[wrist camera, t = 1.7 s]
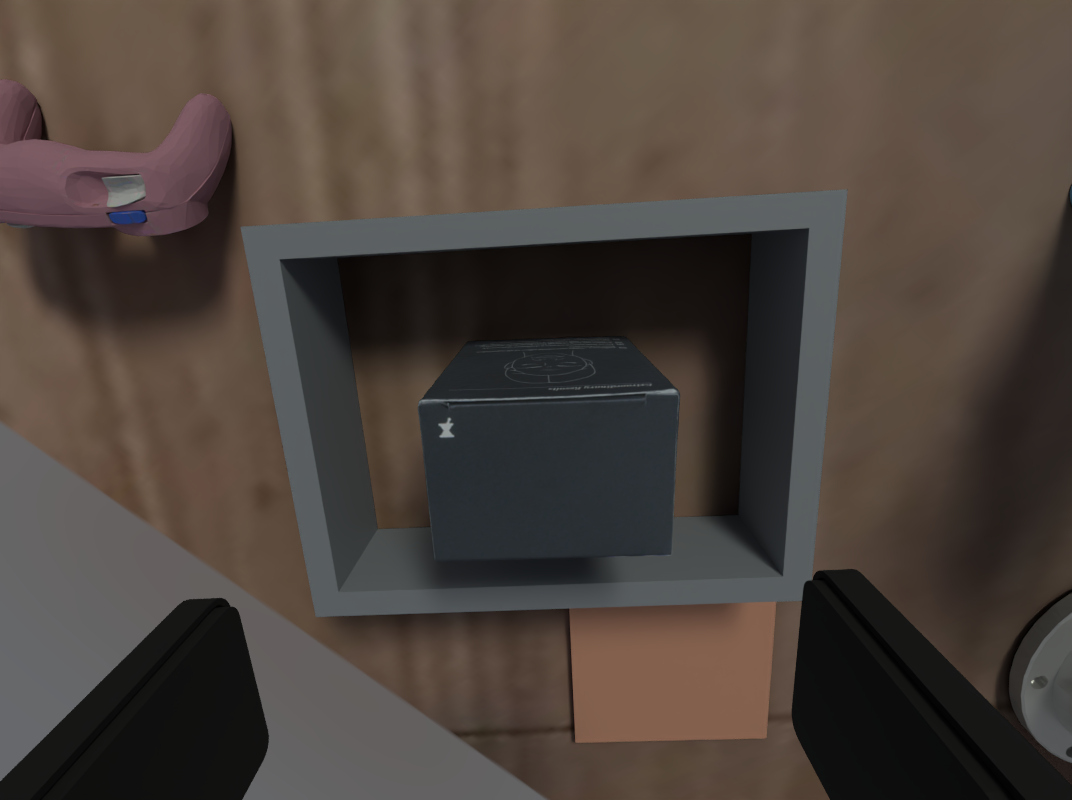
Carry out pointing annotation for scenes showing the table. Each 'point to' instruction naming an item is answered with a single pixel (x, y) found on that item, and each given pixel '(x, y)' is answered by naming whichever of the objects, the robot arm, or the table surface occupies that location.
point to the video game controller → (110, 172)
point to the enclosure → (531, 584)
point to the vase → (1071, 195)
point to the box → (550, 451)
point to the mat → (671, 671)
